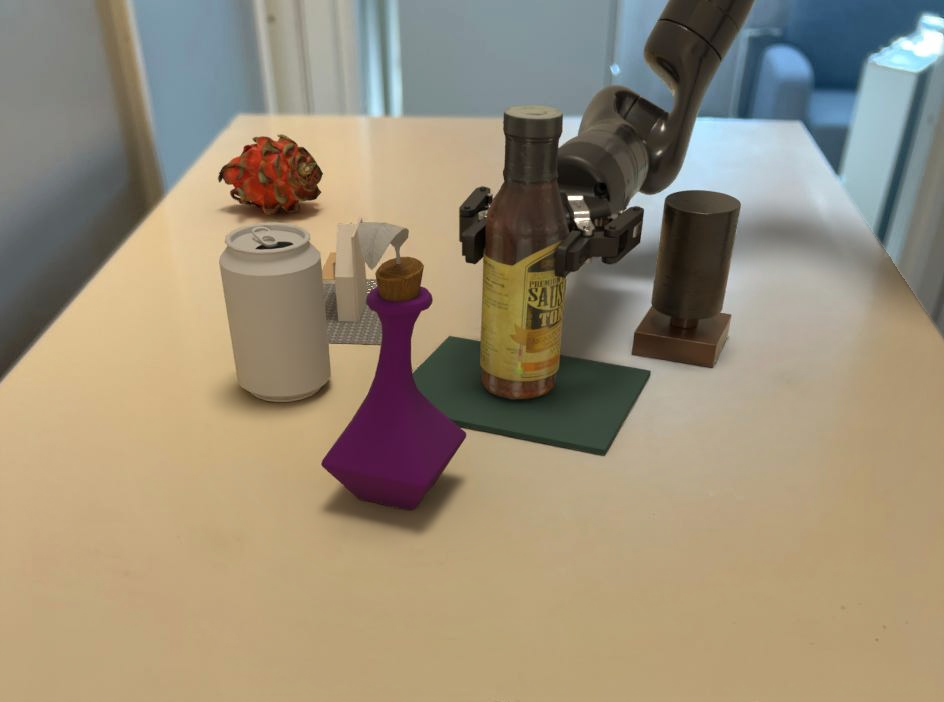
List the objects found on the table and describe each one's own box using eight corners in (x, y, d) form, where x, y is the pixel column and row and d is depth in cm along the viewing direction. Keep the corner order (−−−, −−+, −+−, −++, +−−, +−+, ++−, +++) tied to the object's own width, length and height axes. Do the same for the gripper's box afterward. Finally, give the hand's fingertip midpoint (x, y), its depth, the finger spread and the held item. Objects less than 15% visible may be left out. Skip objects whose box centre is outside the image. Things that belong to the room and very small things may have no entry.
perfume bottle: (371, 454, 72) (355, 194, 60) (467, 474, 70) (470, 209, 58) (323, 506, 67) (295, 232, 55) (425, 530, 65) (419, 250, 53)
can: (262, 415, 76) (240, 258, 68) (224, 378, 81) (199, 228, 73) (348, 391, 79) (336, 238, 72) (306, 357, 84) (291, 210, 76)
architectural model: (321, 320, 90) (313, 237, 85) (333, 291, 95) (326, 211, 90) (358, 321, 90) (353, 237, 85) (368, 292, 95) (364, 212, 90)
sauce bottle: (533, 411, 76) (549, 129, 63) (464, 391, 78) (465, 116, 65) (572, 378, 80) (594, 107, 67) (506, 360, 83) (514, 95, 70)
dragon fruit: (333, 229, 113) (234, 240, 115) (335, 165, 115) (238, 177, 117) (309, 178, 105) (203, 192, 107) (312, 111, 107) (208, 125, 109)
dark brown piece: (727, 335, 88) (754, 194, 80) (712, 367, 83) (739, 220, 75) (650, 323, 90) (669, 183, 82) (631, 354, 85) (649, 208, 77)
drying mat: (650, 375, 82) (651, 370, 82) (604, 455, 72) (605, 449, 72) (449, 340, 87) (449, 335, 87) (380, 410, 77) (380, 405, 77)
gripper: (502, 131, 82) (420, 189, 70) (674, 150, 78) (618, 215, 66) (500, 224, 87) (423, 293, 75) (661, 247, 83) (607, 323, 71)
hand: (514, 256), depth 70 cm, fingers closed on sauce bottle, 6 cm apart
